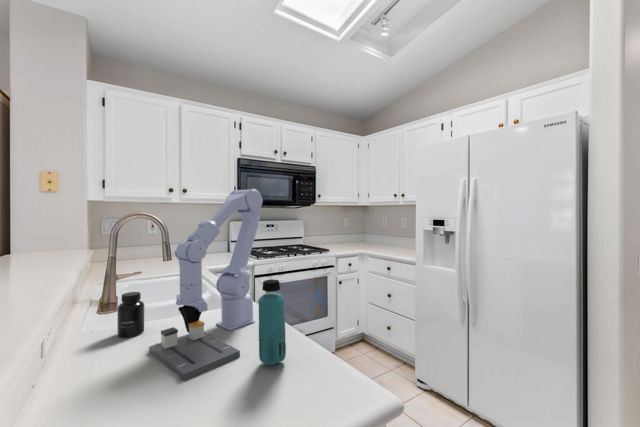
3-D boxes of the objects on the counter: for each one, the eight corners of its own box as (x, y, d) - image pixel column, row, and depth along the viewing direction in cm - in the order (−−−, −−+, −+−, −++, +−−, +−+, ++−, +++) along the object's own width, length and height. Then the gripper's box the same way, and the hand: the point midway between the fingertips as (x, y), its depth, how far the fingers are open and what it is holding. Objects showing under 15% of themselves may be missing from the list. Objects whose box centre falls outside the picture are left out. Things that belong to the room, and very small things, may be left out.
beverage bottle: (281, 372, 68) (280, 284, 68) (253, 369, 69) (252, 283, 69) (289, 358, 74) (289, 277, 74) (264, 356, 76) (263, 276, 75)
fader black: (173, 342, 80) (173, 327, 80) (178, 345, 78) (177, 329, 78) (161, 346, 78) (160, 330, 78) (165, 349, 76) (164, 333, 76)
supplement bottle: (123, 340, 85) (122, 298, 85) (113, 334, 89) (113, 294, 89) (148, 332, 91) (148, 293, 91) (138, 327, 95) (138, 289, 95)
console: (200, 335, 89) (200, 329, 89) (239, 356, 75) (239, 350, 75) (149, 352, 78) (149, 346, 78) (184, 380, 65) (184, 373, 65)
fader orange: (199, 334, 85) (199, 320, 85) (204, 336, 83) (204, 322, 83) (188, 337, 83) (188, 323, 83) (193, 340, 81) (192, 325, 81)
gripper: (165, 282, 86) (166, 329, 87) (188, 290, 77) (189, 343, 77) (189, 277, 92) (190, 322, 92) (214, 285, 82) (215, 334, 82)
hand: (191, 331), depth 85 cm, fingers closed
